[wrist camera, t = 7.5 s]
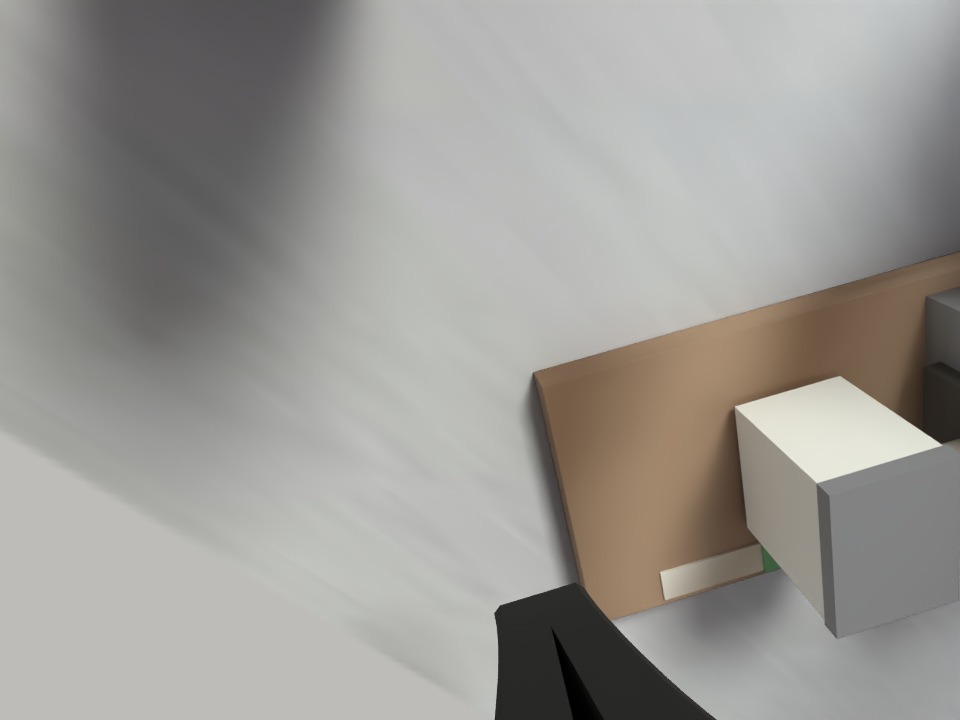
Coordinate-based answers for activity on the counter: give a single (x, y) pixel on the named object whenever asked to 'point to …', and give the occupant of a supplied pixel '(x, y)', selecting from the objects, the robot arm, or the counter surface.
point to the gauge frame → (729, 424)
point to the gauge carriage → (851, 503)
